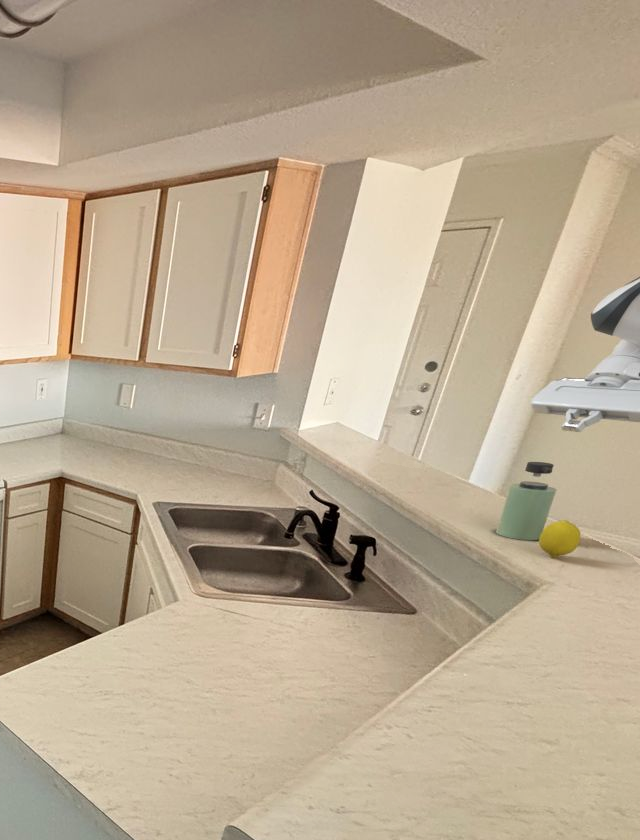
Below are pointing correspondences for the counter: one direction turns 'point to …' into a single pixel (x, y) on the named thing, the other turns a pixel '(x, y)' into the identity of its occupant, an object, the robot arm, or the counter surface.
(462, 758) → the counter surface
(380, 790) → the counter surface
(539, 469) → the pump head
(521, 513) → the soap bottle
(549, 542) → the lemon
